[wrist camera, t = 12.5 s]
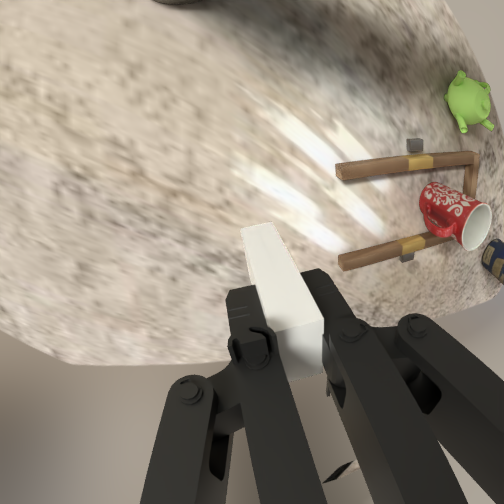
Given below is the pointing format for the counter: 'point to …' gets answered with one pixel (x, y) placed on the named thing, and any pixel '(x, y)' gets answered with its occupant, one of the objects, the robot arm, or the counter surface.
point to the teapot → (469, 101)
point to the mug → (455, 215)
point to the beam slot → (400, 164)
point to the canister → (495, 259)
